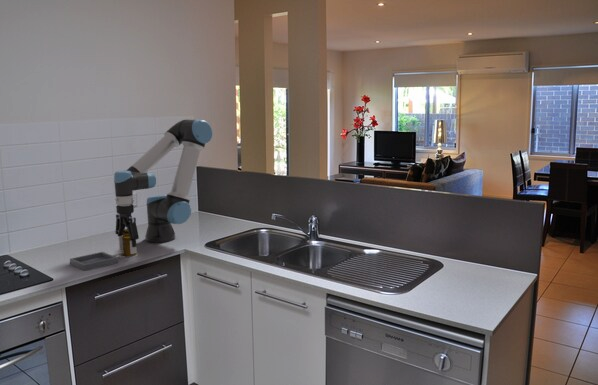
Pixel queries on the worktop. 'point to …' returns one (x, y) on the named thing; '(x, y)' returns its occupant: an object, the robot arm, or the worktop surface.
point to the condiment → (126, 245)
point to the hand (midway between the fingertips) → (127, 251)
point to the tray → (93, 261)
